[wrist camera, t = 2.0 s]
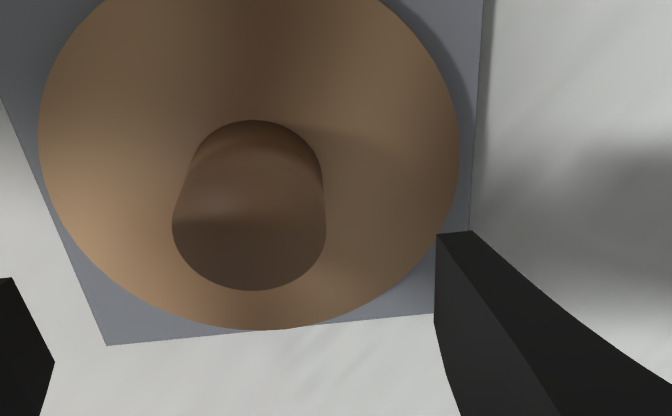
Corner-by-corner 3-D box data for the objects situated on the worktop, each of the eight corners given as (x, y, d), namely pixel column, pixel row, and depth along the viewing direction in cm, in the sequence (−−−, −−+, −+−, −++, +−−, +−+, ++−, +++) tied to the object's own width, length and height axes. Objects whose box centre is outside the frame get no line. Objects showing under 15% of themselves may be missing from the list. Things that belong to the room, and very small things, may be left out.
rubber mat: (484, -100, 11) (489, -100, 11) (459, 301, 17) (463, 310, 17) (-51, -52, 11) (-62, -49, 11) (110, 336, 17) (106, 345, 16)
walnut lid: (462, -71, 11) (508, -56, 9) (448, 297, 16) (474, 369, 14) (-28, -22, 11) (-118, 7, 9) (120, 332, 16) (90, 411, 14)
